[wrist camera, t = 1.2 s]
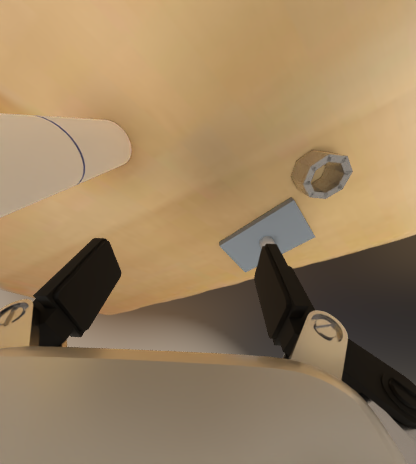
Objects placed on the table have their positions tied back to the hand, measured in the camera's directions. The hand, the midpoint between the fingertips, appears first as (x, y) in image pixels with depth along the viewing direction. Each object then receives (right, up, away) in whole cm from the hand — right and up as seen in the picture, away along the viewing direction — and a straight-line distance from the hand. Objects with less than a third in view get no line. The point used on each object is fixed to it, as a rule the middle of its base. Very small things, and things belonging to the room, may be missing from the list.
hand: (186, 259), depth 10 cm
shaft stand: (+15, 0, +28) cm, 31 cm away
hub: (+20, +13, +20) cm, 31 cm away
